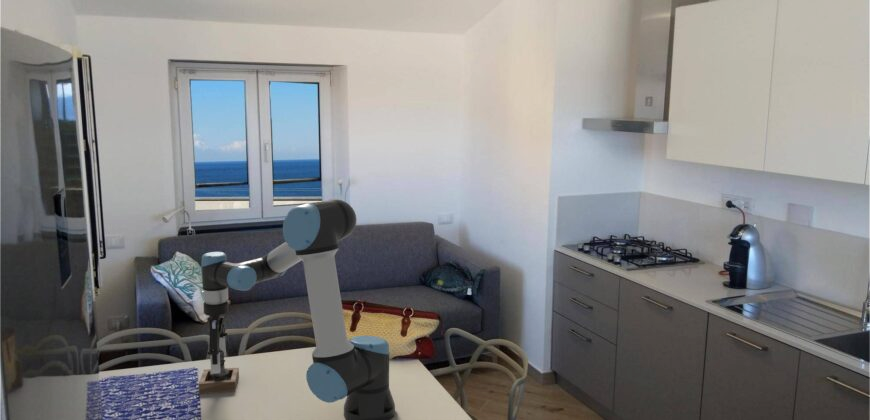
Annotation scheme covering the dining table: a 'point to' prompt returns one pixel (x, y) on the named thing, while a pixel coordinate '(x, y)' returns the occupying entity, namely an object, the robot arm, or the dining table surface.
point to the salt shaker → (221, 369)
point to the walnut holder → (218, 382)
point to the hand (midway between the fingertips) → (218, 364)
